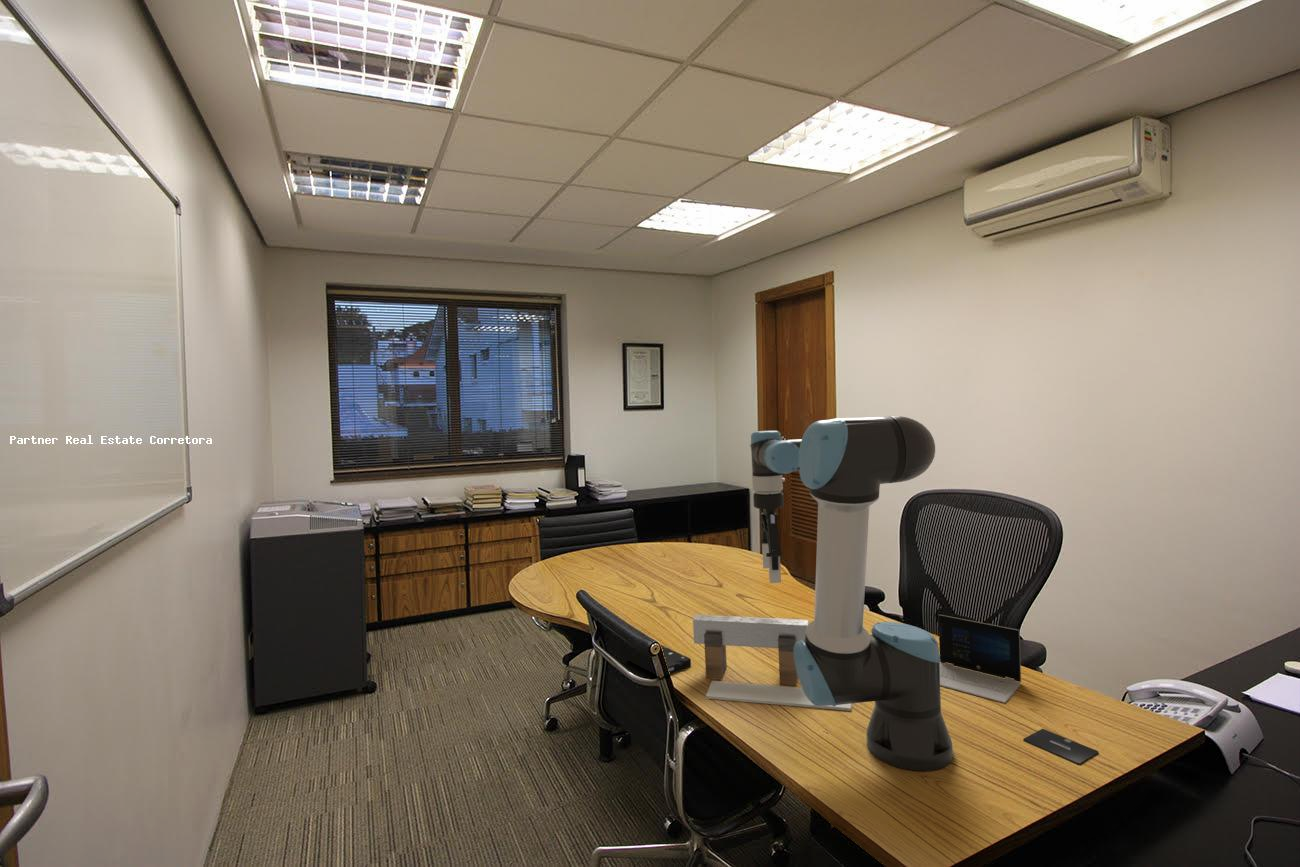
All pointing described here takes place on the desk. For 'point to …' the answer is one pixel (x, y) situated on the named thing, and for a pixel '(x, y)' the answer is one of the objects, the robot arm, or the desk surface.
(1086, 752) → the solid state drive
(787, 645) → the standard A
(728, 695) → the mat
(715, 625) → the rail
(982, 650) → the laptop
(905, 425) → the robot arm
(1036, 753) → the desk surface
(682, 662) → the disk drive
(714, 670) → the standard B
